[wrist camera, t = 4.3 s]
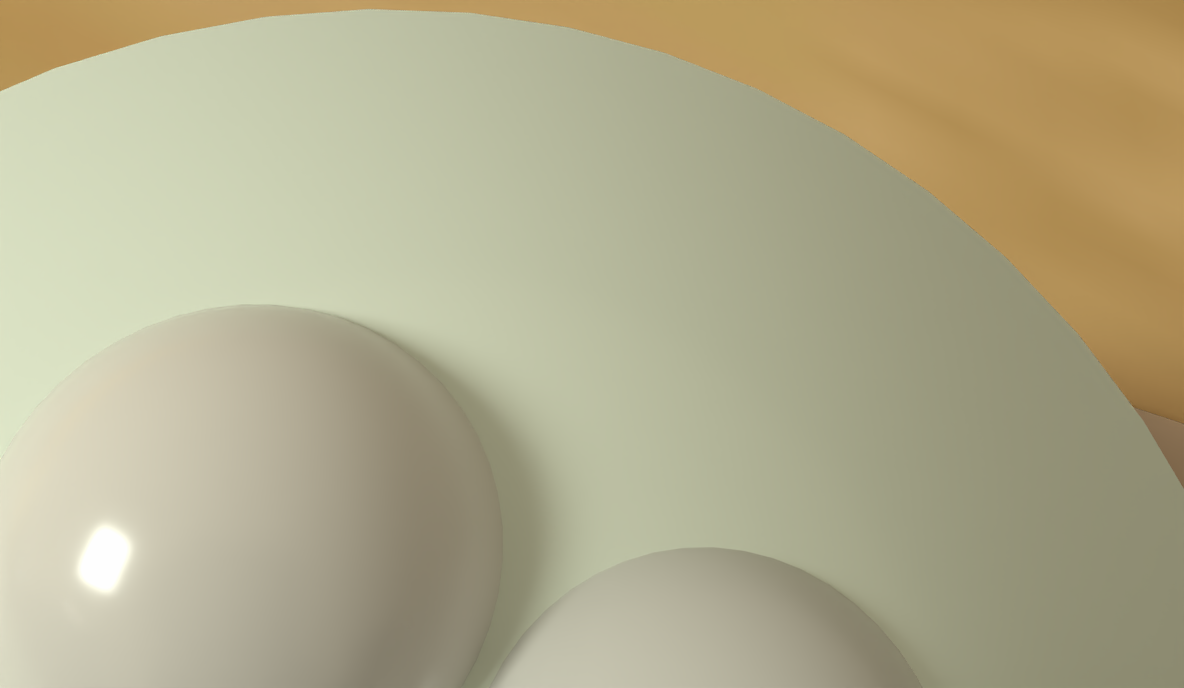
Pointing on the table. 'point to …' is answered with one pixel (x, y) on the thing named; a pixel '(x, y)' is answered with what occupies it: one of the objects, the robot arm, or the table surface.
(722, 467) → the pale green tall cylinder
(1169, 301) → the table surface
